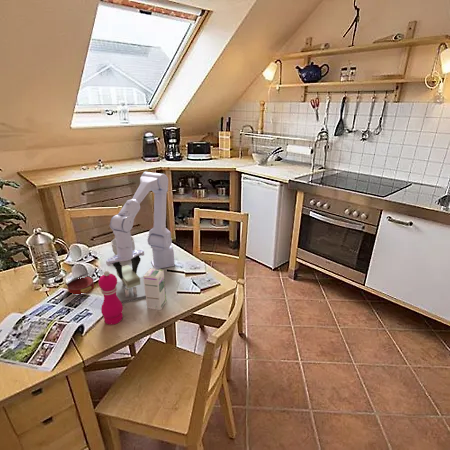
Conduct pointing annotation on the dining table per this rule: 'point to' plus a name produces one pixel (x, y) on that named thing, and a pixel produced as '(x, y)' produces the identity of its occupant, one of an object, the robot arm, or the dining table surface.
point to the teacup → (116, 247)
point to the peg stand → (130, 291)
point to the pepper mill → (110, 299)
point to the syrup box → (155, 288)
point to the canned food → (80, 284)
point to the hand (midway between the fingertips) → (127, 275)
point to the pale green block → (129, 277)
